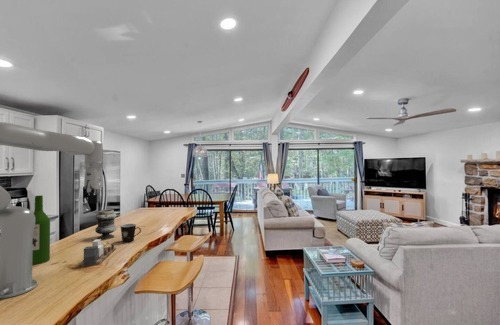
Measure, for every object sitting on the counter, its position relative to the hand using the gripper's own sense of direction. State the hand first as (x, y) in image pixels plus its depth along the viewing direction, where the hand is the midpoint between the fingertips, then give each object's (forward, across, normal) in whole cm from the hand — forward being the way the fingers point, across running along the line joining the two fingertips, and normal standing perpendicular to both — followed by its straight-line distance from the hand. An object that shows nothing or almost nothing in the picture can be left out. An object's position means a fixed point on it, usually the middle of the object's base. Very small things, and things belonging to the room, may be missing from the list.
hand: (93, 203), depth 121 cm
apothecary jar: (+29, +44, +10) cm, 54 cm away
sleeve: (+27, +4, 0) cm, 28 cm away
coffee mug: (+29, +32, -8) cm, 44 cm away
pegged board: (+29, +8, 0) cm, 30 cm away
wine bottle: (+29, +6, +27) cm, 40 cm away
